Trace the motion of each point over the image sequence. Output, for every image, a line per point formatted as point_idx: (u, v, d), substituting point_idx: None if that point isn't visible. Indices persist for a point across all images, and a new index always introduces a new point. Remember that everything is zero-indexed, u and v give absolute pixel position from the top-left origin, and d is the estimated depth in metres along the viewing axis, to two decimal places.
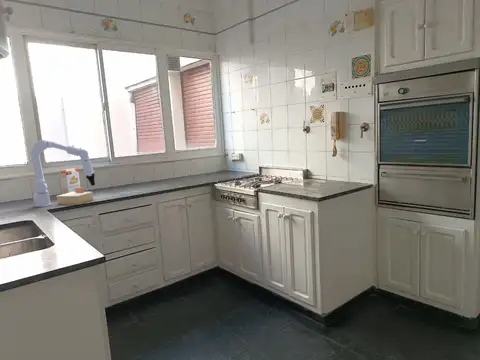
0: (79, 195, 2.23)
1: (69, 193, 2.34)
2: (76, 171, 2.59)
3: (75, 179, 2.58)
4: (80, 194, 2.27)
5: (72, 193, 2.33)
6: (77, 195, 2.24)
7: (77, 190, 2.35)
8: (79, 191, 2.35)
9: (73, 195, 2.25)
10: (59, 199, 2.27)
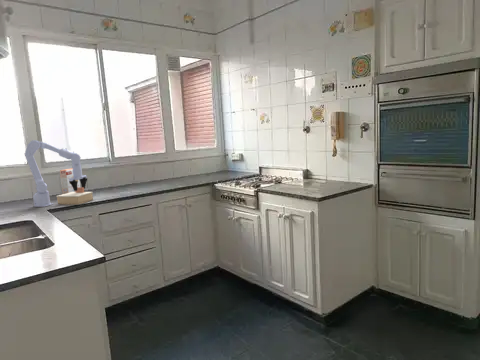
0: (79, 195, 2.23)
1: (69, 193, 2.34)
2: None
3: None
4: (80, 194, 2.27)
5: (72, 193, 2.33)
6: (77, 195, 2.24)
7: (77, 190, 2.35)
8: (79, 191, 2.35)
9: (73, 195, 2.25)
10: (59, 199, 2.27)
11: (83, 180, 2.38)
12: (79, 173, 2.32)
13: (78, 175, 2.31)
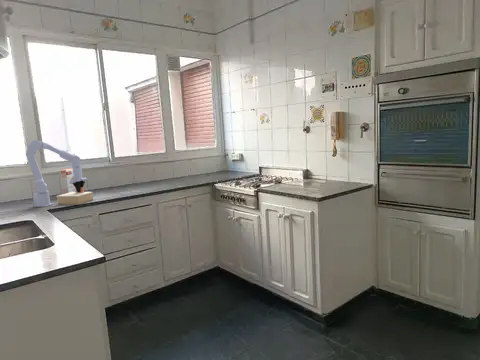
0: (79, 195, 2.23)
1: (69, 193, 2.34)
2: None
3: None
4: (80, 194, 2.27)
5: (72, 193, 2.33)
6: (77, 195, 2.24)
7: None
8: None
9: (73, 195, 2.25)
10: (59, 199, 2.27)
11: None
12: (79, 175, 2.32)
13: (78, 177, 2.32)
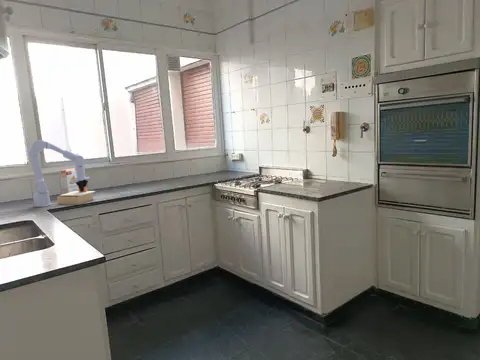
0: (82, 194, 2.26)
1: (72, 192, 2.36)
2: None
3: None
4: (83, 193, 2.30)
5: (75, 192, 2.36)
6: (80, 194, 2.26)
7: None
8: None
9: (76, 194, 2.27)
10: (59, 199, 2.27)
11: None
12: (82, 175, 2.35)
13: (81, 177, 2.34)
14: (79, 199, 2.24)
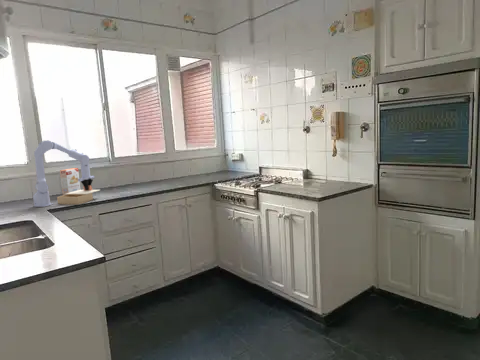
0: (87, 193, 2.31)
1: (77, 191, 2.41)
2: (76, 171, 2.59)
3: (75, 179, 2.58)
4: (88, 192, 2.34)
5: (80, 191, 2.40)
6: (85, 193, 2.31)
7: None
8: None
9: (82, 193, 2.32)
10: (59, 199, 2.27)
11: None
12: (87, 174, 2.40)
13: (86, 176, 2.39)
14: (79, 199, 2.24)
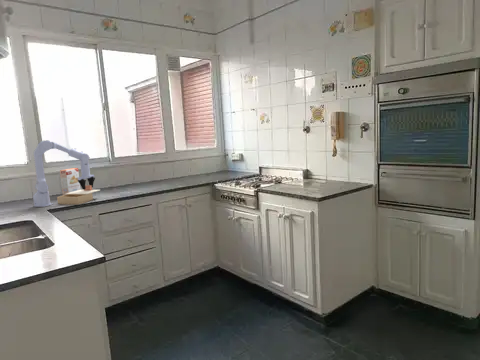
0: (87, 193, 2.31)
1: (77, 191, 2.41)
2: (76, 171, 2.59)
3: (75, 179, 2.58)
4: (88, 192, 2.34)
5: (80, 191, 2.40)
6: (85, 193, 2.31)
7: None
8: (87, 189, 2.42)
9: (82, 193, 2.32)
10: (59, 199, 2.27)
11: (91, 179, 2.45)
12: (87, 172, 2.40)
13: (86, 174, 2.39)
14: (79, 199, 2.24)
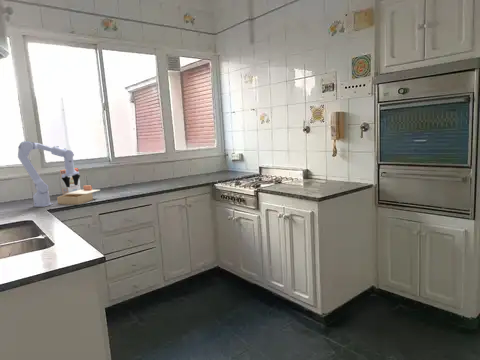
0: (87, 193, 2.31)
1: (77, 191, 2.41)
2: (76, 171, 2.59)
3: None
4: (88, 192, 2.34)
5: (80, 191, 2.40)
6: (85, 193, 2.31)
7: (85, 188, 2.43)
8: (87, 189, 2.42)
9: (82, 193, 2.32)
10: (59, 199, 2.27)
11: (76, 177, 2.39)
12: (71, 169, 2.33)
13: (70, 171, 2.33)
14: (79, 199, 2.24)
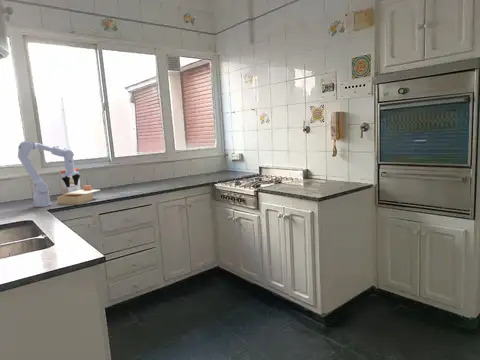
0: (87, 193, 2.31)
1: (77, 191, 2.41)
2: (76, 171, 2.59)
3: None
4: (88, 192, 2.34)
5: (80, 191, 2.40)
6: (85, 193, 2.31)
7: (85, 188, 2.43)
8: (87, 189, 2.42)
9: (82, 193, 2.32)
10: (59, 199, 2.27)
11: (76, 177, 2.39)
12: (71, 169, 2.33)
13: (70, 171, 2.33)
14: (79, 199, 2.24)
